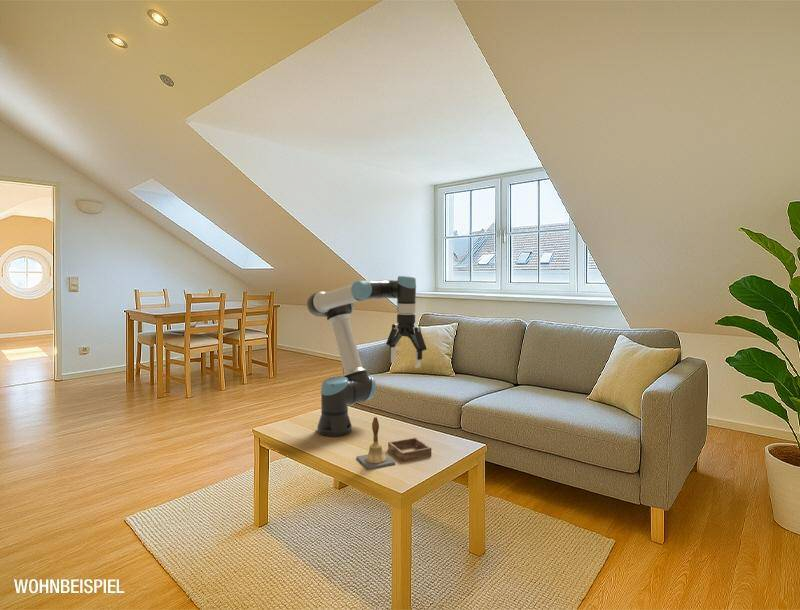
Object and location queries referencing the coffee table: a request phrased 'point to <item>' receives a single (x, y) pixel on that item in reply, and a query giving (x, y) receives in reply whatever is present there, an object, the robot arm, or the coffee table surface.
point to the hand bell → (375, 446)
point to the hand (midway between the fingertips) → (405, 364)
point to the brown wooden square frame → (404, 456)
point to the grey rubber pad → (372, 465)
